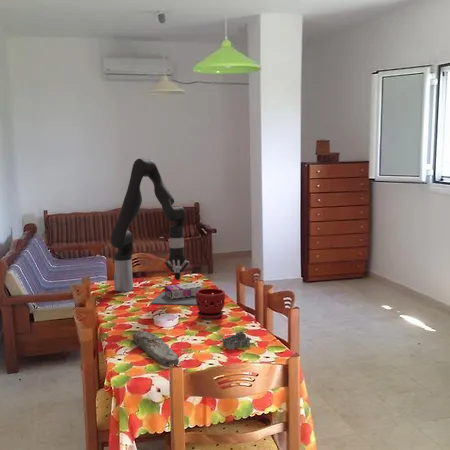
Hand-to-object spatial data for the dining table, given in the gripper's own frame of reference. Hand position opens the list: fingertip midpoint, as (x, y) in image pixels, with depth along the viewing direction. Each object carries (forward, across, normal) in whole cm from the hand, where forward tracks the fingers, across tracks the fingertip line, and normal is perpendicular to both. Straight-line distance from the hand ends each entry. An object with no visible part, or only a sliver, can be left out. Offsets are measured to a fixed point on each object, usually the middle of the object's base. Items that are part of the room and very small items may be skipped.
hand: (177, 279), depth 274 cm
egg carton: (+11, +39, -59) cm, 72 cm away
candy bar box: (+8, -6, +1) cm, 10 cm away
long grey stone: (+11, +9, -69) cm, 71 cm away
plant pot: (+11, +22, -25) cm, 35 cm away
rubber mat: (+11, 0, +1) cm, 11 cm away
